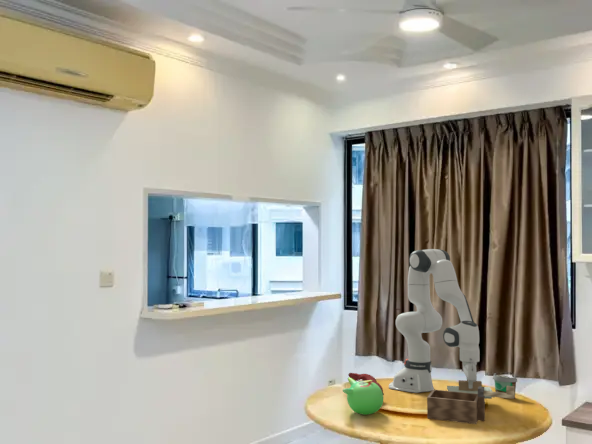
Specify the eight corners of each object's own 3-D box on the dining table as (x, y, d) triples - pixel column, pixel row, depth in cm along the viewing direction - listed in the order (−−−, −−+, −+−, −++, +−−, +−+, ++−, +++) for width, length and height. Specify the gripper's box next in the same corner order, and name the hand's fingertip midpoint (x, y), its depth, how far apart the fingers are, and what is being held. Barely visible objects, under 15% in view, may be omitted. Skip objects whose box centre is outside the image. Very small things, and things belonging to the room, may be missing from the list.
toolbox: (427, 418, 255) (427, 386, 255) (433, 409, 267) (433, 379, 268) (482, 425, 246) (482, 392, 246) (485, 415, 259) (485, 384, 259)
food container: (487, 395, 292) (487, 374, 293) (495, 393, 296) (495, 372, 296) (510, 400, 283) (509, 379, 283) (517, 398, 286) (517, 377, 286)
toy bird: (382, 420, 252) (382, 385, 252) (342, 418, 255) (342, 383, 255) (384, 408, 269) (384, 375, 270) (347, 406, 273) (346, 374, 273)
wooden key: (481, 395, 252) (481, 384, 252) (481, 394, 254) (481, 383, 254) (514, 398, 247) (514, 387, 247) (514, 397, 249) (514, 386, 249)
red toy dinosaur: (357, 396, 306) (339, 376, 301) (368, 382, 309) (351, 363, 305) (388, 411, 280) (369, 390, 276) (400, 396, 283) (382, 374, 279)
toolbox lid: (449, 398, 270) (449, 384, 271) (447, 390, 284) (447, 377, 284) (494, 399, 267) (494, 385, 268) (489, 391, 281) (489, 378, 281)
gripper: (479, 361, 266) (480, 393, 265) (473, 353, 286) (474, 382, 285) (465, 361, 267) (465, 392, 266) (460, 352, 287) (460, 381, 286)
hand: (469, 387), depth 276 cm, fingers closed on toolbox lid, 2 cm apart
